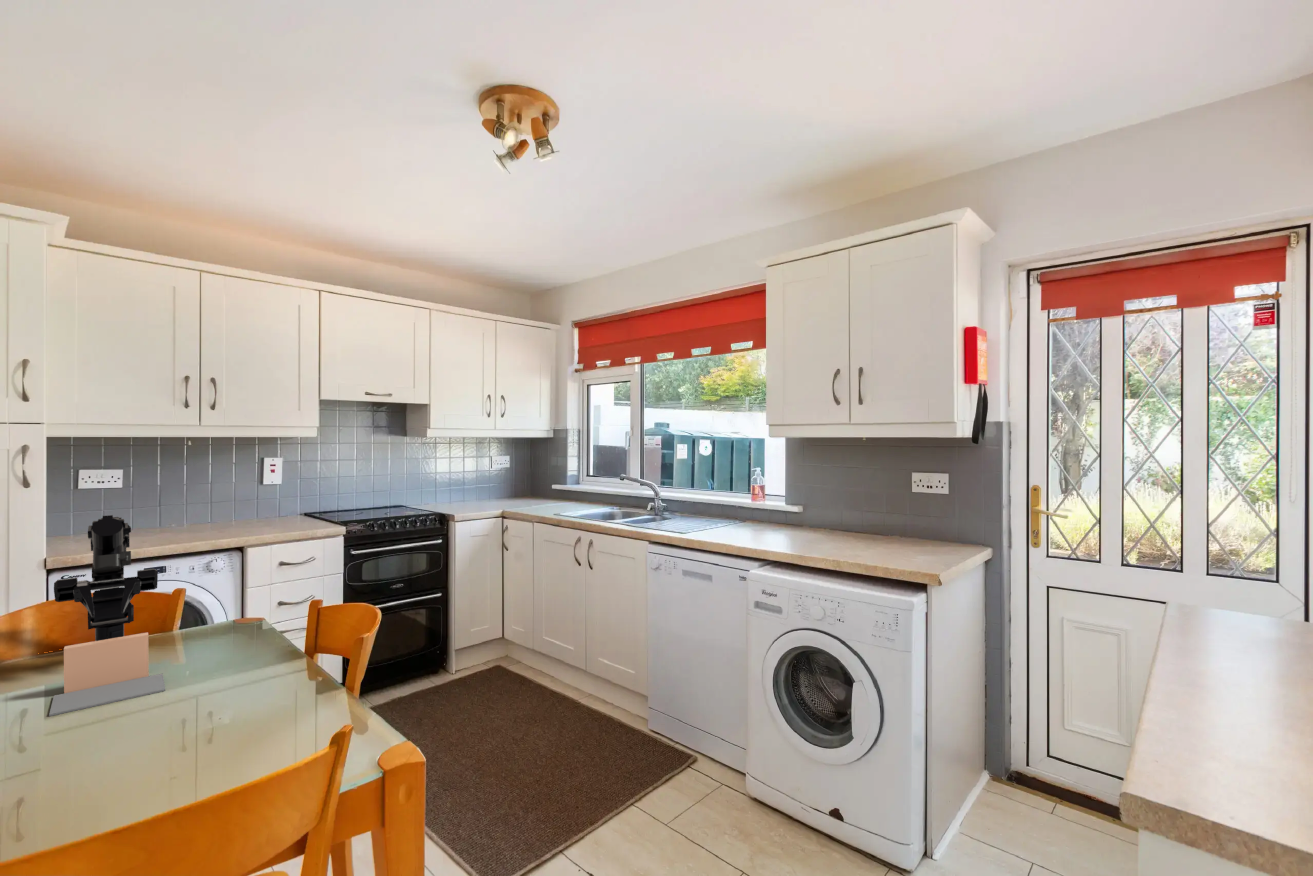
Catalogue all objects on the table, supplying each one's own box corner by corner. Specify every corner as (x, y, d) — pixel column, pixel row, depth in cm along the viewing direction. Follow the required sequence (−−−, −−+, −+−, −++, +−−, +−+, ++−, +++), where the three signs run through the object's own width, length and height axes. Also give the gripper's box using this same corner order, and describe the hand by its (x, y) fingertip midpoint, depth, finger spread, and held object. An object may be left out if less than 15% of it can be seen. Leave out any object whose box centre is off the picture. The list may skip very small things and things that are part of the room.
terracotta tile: (64, 692, 132) (64, 646, 132) (148, 675, 142) (148, 632, 142) (64, 695, 131) (63, 649, 131) (148, 678, 140) (148, 634, 140)
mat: (54, 697, 129) (54, 695, 129) (162, 675, 141) (162, 673, 141) (49, 716, 120) (49, 714, 120) (165, 690, 132) (165, 689, 132)
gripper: (54, 546, 142) (50, 602, 134) (157, 536, 154) (159, 588, 146) (57, 574, 148) (53, 629, 140) (156, 563, 160) (158, 613, 152)
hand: (107, 614), depth 144 cm, fingers open, 5 cm apart
